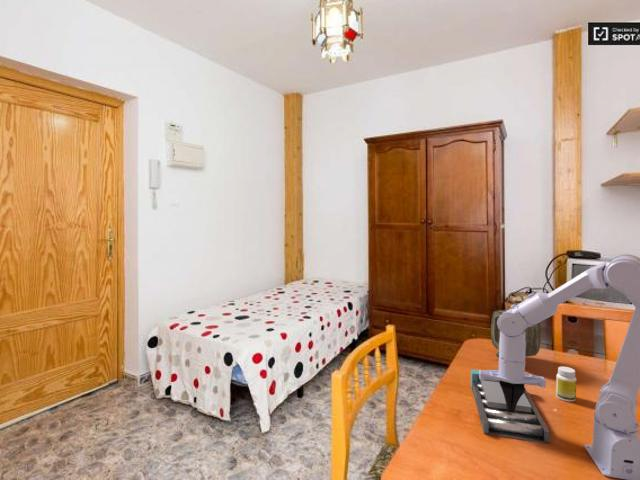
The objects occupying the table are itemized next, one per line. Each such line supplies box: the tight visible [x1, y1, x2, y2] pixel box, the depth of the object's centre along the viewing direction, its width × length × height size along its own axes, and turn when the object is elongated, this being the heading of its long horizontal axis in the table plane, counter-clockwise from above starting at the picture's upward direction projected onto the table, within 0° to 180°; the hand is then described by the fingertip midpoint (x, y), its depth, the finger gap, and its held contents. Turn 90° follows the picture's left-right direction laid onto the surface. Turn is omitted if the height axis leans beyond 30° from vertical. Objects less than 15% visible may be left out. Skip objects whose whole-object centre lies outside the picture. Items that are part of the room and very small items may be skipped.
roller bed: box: [471, 381, 551, 444], centre depth 93 cm, size 22×14×3 cm, turn 163°
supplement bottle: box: [555, 366, 577, 402], centre depth 100 cm, size 5×5×8 cm
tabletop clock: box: [490, 291, 542, 358], centre depth 124 cm, size 14×9×25 cm, turn 10°
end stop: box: [470, 368, 526, 389], centre depth 105 cm, size 4×14×5 cm, turn 73°
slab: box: [481, 381, 532, 412], centre depth 95 cm, size 12×10×1 cm
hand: (510, 410), depth 88 cm, fingers closed, pressing on slab
